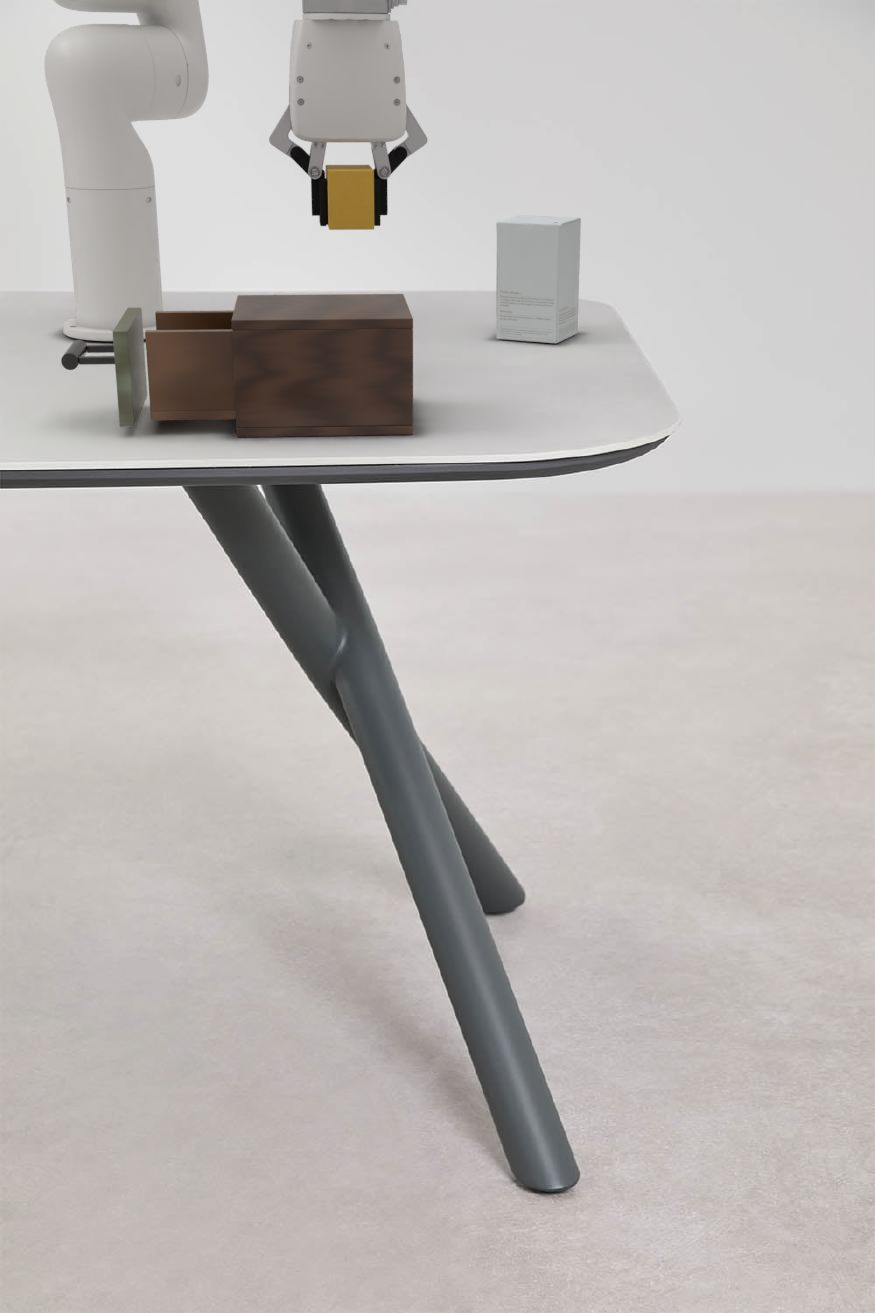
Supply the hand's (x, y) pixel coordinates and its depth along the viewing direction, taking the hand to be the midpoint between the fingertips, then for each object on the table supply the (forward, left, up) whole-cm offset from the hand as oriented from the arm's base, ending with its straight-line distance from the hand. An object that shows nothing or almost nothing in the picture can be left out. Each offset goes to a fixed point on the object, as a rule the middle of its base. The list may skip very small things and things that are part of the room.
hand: (349, 221), depth 135 cm
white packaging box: (-26, +21, -15) cm, 37 cm away
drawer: (+11, -15, -14) cm, 24 cm away
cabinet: (+11, -3, -15) cm, 19 cm away
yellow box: (0, 0, 0) cm, 0 cm away
